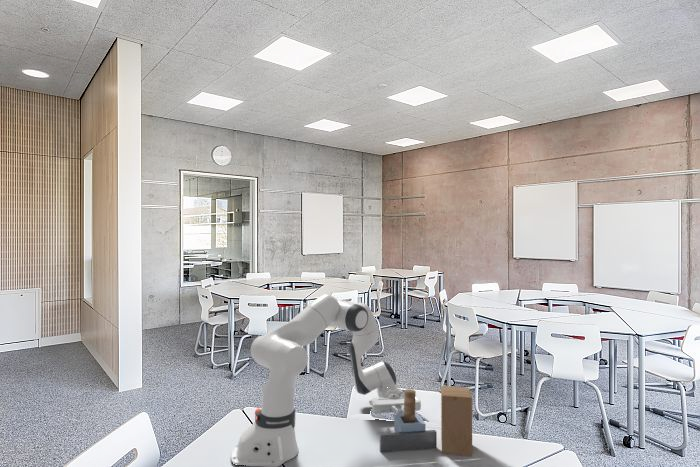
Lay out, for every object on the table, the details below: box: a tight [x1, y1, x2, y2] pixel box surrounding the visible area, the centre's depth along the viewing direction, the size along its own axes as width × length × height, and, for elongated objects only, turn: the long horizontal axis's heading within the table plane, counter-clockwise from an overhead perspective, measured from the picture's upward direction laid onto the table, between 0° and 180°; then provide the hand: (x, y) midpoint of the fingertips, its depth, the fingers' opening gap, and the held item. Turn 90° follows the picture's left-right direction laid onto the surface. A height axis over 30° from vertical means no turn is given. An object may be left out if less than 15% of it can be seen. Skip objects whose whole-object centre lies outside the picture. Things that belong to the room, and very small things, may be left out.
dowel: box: [404, 388, 417, 423], centre depth 147 cm, size 4×4×16 cm
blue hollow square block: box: [393, 412, 427, 433], centre depth 147 cm, size 9×9×8 cm
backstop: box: [379, 427, 438, 454], centre depth 148 cm, size 20×16×6 cm
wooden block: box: [440, 385, 473, 457], centre depth 142 cm, size 10×10×20 cm
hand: (400, 412), depth 160 cm, fingers closed
